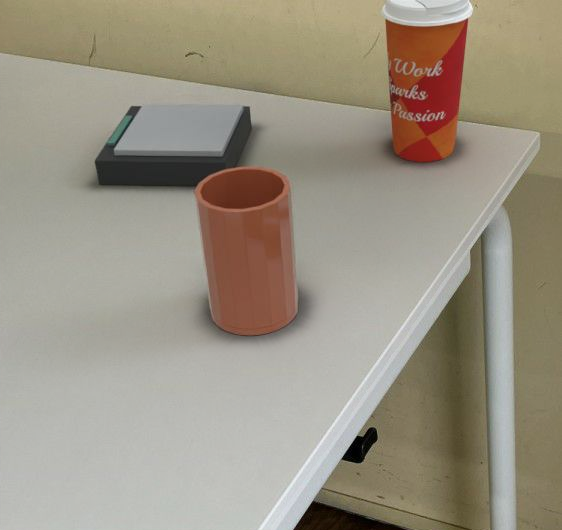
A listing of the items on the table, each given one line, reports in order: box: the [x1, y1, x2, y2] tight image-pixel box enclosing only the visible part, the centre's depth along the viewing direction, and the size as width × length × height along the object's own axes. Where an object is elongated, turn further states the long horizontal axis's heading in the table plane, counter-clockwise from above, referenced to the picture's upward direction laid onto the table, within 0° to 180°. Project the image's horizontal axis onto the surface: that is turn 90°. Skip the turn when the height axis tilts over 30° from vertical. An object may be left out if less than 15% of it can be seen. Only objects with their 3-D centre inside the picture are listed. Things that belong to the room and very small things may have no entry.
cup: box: [194, 166, 299, 336], centre depth 71 cm, size 6×6×10 cm
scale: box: [94, 103, 253, 187], centre depth 94 cm, size 12×12×3 cm
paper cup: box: [380, 0, 474, 163], centre depth 89 cm, size 8×8×14 cm
